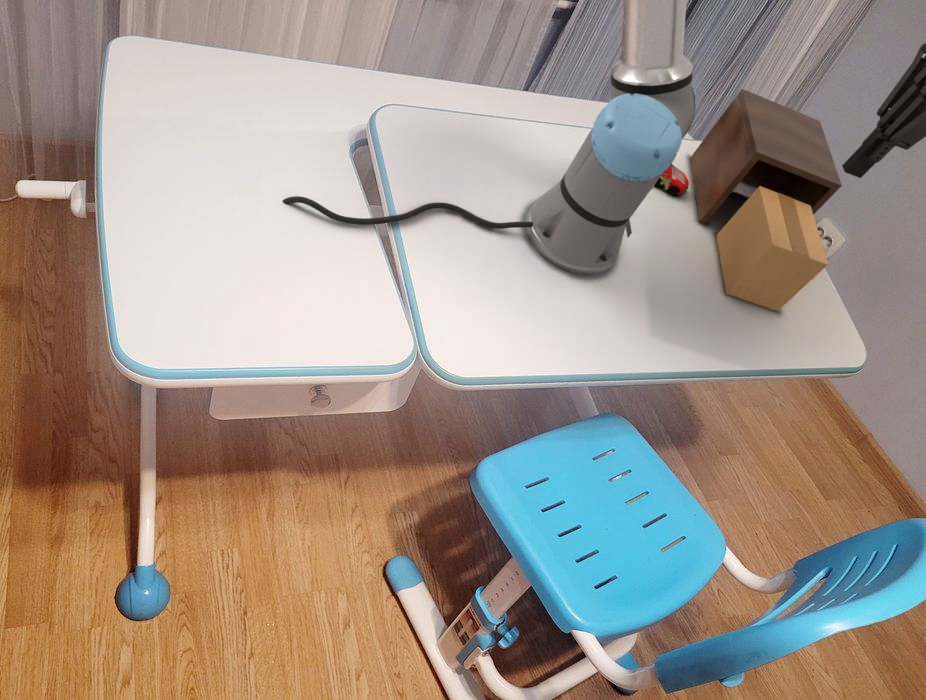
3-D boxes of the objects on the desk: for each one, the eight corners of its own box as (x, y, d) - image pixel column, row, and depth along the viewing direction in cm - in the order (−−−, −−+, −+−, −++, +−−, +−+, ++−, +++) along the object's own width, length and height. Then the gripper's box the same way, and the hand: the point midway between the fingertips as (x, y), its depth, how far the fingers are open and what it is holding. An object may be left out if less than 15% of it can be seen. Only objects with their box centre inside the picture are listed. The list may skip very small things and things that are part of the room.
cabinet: (778, 250, 137) (842, 185, 125) (699, 222, 134) (757, 151, 122) (762, 186, 149) (820, 120, 137) (689, 158, 145) (741, 88, 133)
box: (777, 311, 127) (828, 264, 118) (725, 293, 125) (773, 244, 115) (764, 253, 135) (811, 205, 126) (716, 235, 133) (759, 185, 124)
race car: (685, 185, 139) (698, 169, 136) (681, 202, 136) (694, 185, 133) (622, 151, 138) (633, 134, 135) (617, 167, 135) (628, 149, 132)
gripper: (1043, 63, 86) (885, 210, 104) (1001, 6, 94) (861, 151, 112) (991, 40, 84) (840, 193, 102) (953, -17, 92) (818, 135, 110)
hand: (851, 171), depth 107 cm, fingers closed
